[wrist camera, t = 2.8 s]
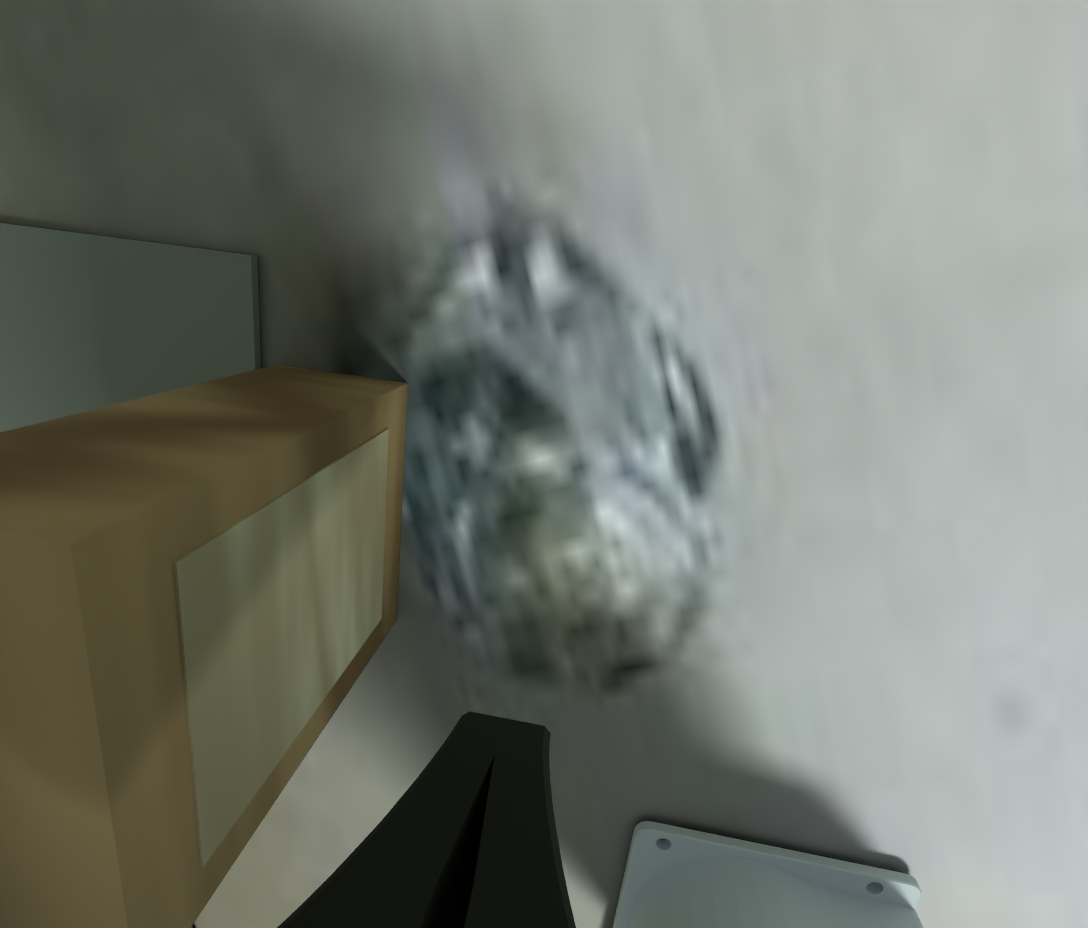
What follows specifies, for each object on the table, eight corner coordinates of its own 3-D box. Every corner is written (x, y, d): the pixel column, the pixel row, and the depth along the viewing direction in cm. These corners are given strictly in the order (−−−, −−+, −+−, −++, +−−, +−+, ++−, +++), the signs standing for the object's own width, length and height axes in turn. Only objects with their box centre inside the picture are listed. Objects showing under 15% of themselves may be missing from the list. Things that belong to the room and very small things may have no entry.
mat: (257, 255, 17) (251, 255, 16) (271, 670, 21) (266, 676, 21) (-180, 199, 18) (-193, 198, 17) (-81, 603, 22) (-90, 607, 22)
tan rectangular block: (409, 383, 17) (74, 545, 7) (398, 619, 20) (142, 1005, 9) (277, 363, 17) (-233, 489, 7) (283, 598, 20) (-89, 947, 10)
